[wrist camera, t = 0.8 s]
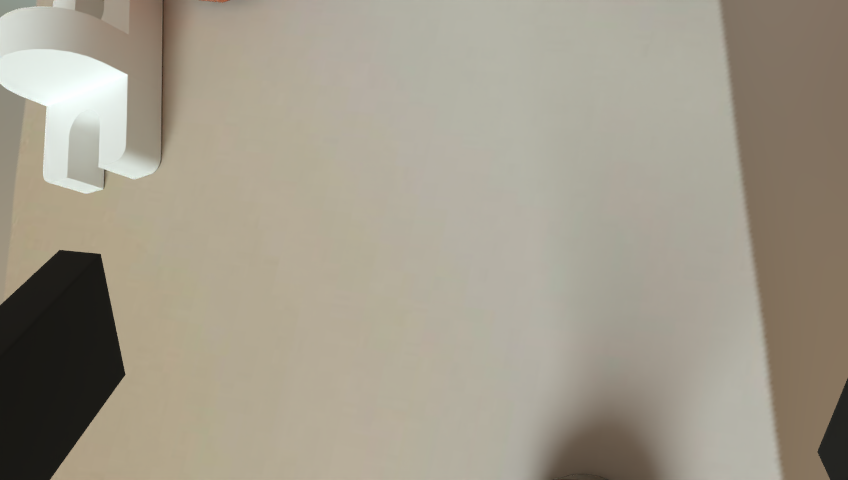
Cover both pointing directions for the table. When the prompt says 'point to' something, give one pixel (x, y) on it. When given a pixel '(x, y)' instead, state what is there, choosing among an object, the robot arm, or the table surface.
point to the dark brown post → (581, 477)
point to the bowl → (216, 0)
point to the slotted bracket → (90, 85)
